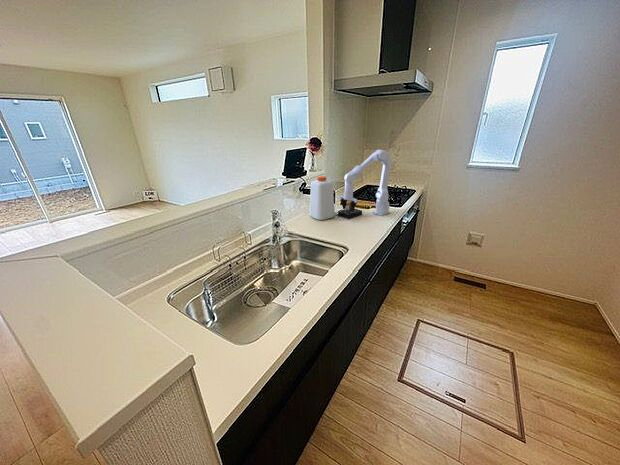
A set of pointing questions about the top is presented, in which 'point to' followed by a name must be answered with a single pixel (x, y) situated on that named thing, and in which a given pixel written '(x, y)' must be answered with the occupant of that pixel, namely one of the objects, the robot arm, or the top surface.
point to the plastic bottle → (321, 199)
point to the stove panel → (350, 213)
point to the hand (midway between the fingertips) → (348, 210)
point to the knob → (347, 208)
